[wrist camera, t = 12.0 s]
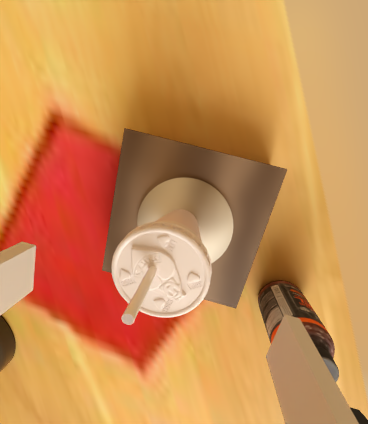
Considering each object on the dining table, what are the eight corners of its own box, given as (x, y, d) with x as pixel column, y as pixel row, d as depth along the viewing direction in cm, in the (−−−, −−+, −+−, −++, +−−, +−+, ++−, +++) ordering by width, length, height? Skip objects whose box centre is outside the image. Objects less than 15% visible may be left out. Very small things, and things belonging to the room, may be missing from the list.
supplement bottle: (311, 296, 30) (368, 376, 19) (280, 323, 32) (316, 411, 21) (278, 270, 30) (317, 337, 19) (247, 298, 31) (267, 375, 21)
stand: (121, 248, 32) (100, 271, 26) (142, 133, 27) (123, 127, 21) (231, 279, 31) (236, 310, 25) (270, 165, 27) (288, 169, 20)
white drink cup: (181, 182, 22) (134, 227, 8) (224, 229, 22) (244, 340, 9) (138, 223, 23) (39, 316, 10) (179, 266, 24) (139, 406, 11)
